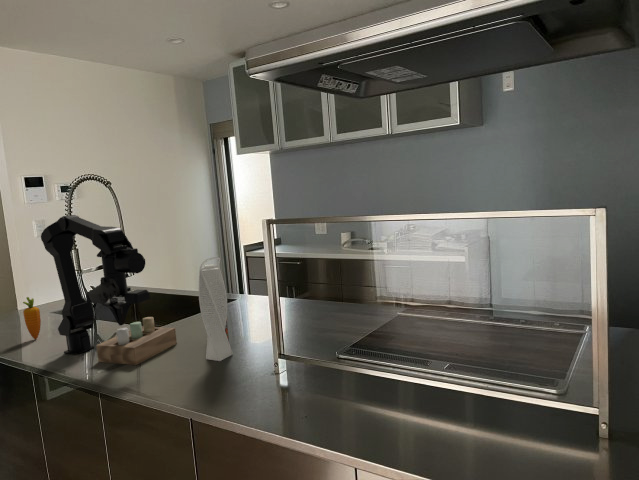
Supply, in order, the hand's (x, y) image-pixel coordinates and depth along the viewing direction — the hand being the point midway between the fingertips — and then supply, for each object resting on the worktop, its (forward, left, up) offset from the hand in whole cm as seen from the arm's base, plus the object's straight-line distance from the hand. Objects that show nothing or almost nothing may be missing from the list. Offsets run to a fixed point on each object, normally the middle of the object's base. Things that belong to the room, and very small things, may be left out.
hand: (121, 325), depth 146 cm
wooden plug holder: (0, +5, -10) cm, 12 cm away
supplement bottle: (+22, +15, -10) cm, 29 cm away
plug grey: (0, 0, -7) cm, 7 cm away
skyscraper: (+28, +6, -10) cm, 31 cm away
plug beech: (0, +11, -7) cm, 13 cm away
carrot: (-50, +10, -10) cm, 52 cm away
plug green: (0, +5, -7) cm, 9 cm away
